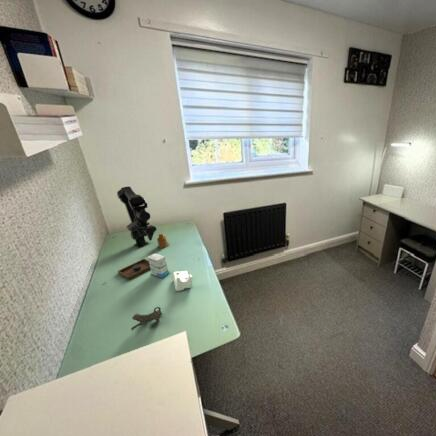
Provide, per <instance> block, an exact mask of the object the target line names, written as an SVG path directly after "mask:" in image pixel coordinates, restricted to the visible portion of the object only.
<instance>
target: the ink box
mask: <svg viewBox="0 0 436 436" xmlns="http://www.w3.org/2000/svg"><path fill="white" fill-rule="evenodd" d="M147 260H148V261H149V264H150V268H151V269H150V271H151V274H152V275H153V276H156V277H159V278H161V279H163V278H165V277H166V276H168V275H169V269H168V268H169V267H168V264H167V260H166V257H165V256H164V255H161V254H158V253H153V254H150V255H149V256H147Z"/></svg>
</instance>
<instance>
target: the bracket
mask: <svg viewBox="0 0 436 436" xmlns="http://www.w3.org/2000/svg"><path fill="white" fill-rule="evenodd" d="M172 279H173V284H174V288H175V291H176V292H178V291H184V290H185V289H191V288H192V284H193V283H192V282H193V275H192V274H191V273H189V272H188V270H179V271H173V274H172Z"/></svg>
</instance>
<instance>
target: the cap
mask: <svg viewBox="0 0 436 436" xmlns="http://www.w3.org/2000/svg"><path fill="white" fill-rule="evenodd" d="M133 270H134V271H139V270H141V266H140V264H137V265H134V266H133Z"/></svg>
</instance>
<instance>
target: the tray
mask: <svg viewBox="0 0 436 436" xmlns="http://www.w3.org/2000/svg"><path fill="white" fill-rule="evenodd" d="M137 264H140V266H141V270H139V271H134V270H133V266H134V265H137ZM149 270H150V271H151V268H150V264H149V261H148V259H146V258H142V259H140V260H138V261H136V262H134V263H132V264H130V265H127V266H125V267H123V268H121V269H118V270H117V273H118V275H120V276H122V277H123V278H124V279H127V280H128V281H131V280H133V279H134V278H136V277H138V276H140V275H142V274H144V273H146V272H147V271H149Z"/></svg>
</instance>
